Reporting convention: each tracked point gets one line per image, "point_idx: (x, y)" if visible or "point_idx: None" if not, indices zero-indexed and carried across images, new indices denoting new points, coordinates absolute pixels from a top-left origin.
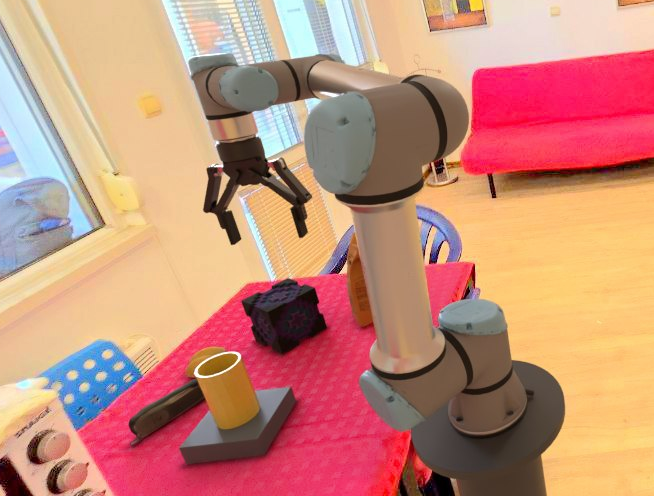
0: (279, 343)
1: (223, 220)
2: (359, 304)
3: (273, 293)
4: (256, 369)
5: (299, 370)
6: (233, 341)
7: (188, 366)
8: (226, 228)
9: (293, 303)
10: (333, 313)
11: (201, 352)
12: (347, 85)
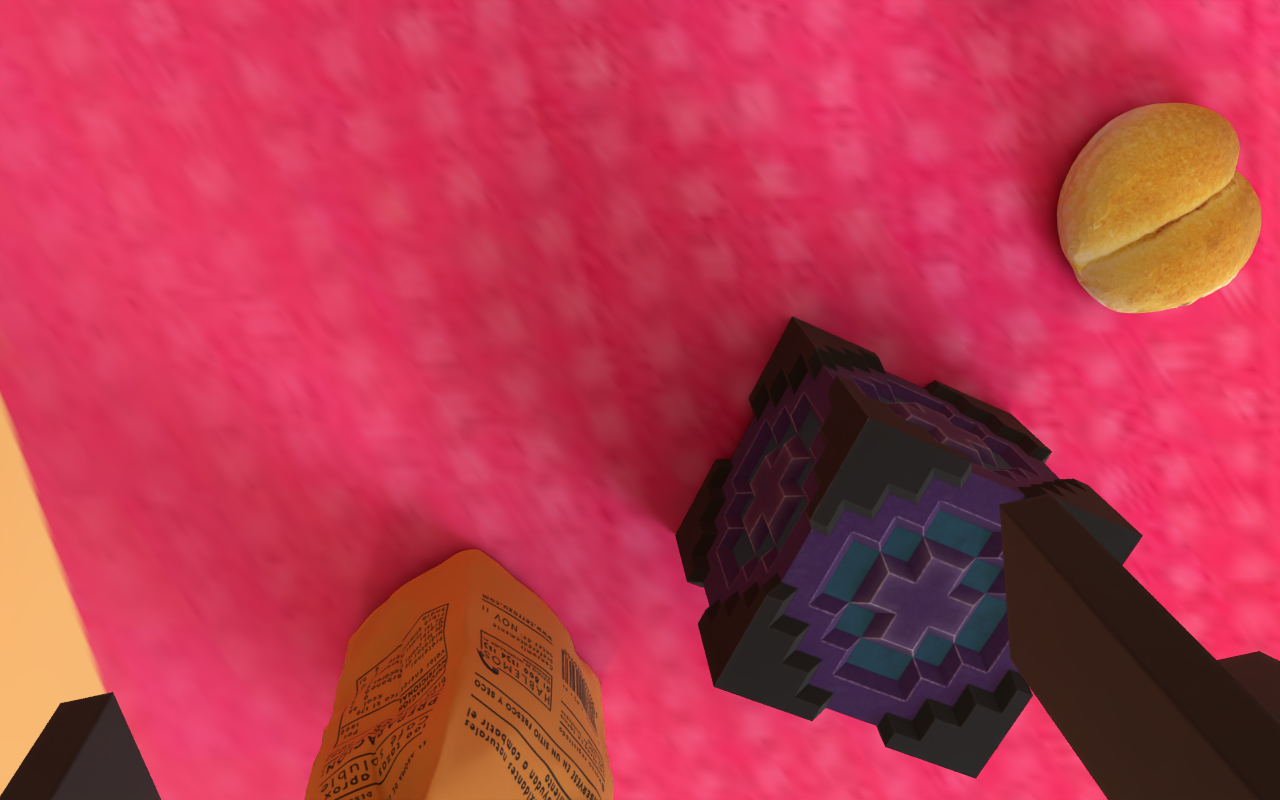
0: (806, 341)
1: (1269, 744)
2: (442, 629)
3: (988, 637)
4: (864, 196)
5: (612, 195)
6: (1140, 412)
7: (1224, 138)
8: (1168, 641)
9: (788, 549)
10: None
11: (1211, 234)
12: None
